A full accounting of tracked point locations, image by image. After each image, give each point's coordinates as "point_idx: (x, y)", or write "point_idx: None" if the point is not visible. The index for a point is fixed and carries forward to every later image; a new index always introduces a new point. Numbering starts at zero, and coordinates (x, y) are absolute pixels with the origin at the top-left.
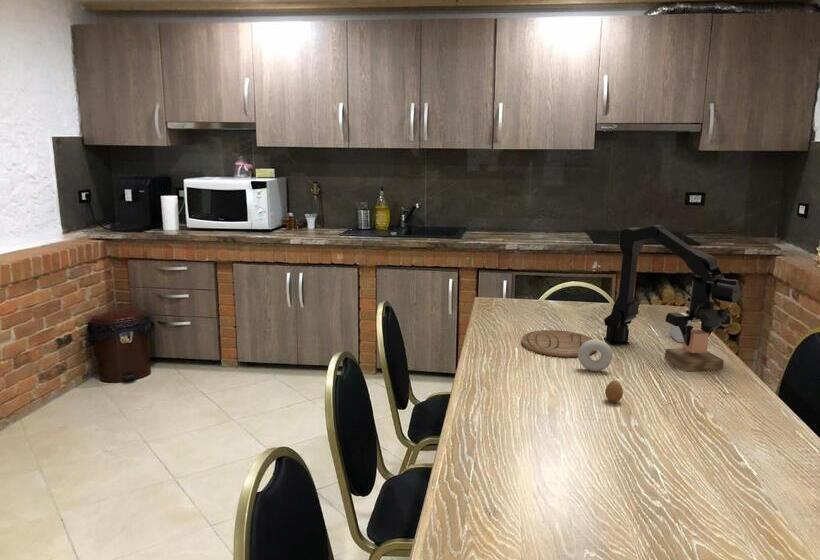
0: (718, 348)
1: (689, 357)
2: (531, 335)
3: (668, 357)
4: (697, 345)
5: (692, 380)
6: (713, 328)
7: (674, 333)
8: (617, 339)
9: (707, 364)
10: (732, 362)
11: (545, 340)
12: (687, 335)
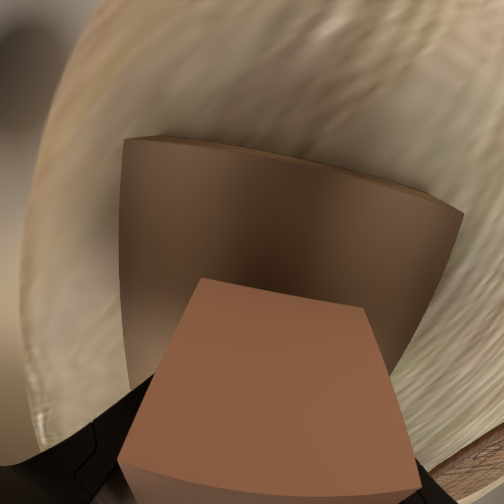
0: (33, 362)
1: (368, 287)
2: (485, 484)
3: None
4: (323, 350)
5: (493, 78)
6: (9, 488)
7: None
8: None
9: (284, 159)
10: (39, 223)
11: (499, 469)
12: (427, 475)
